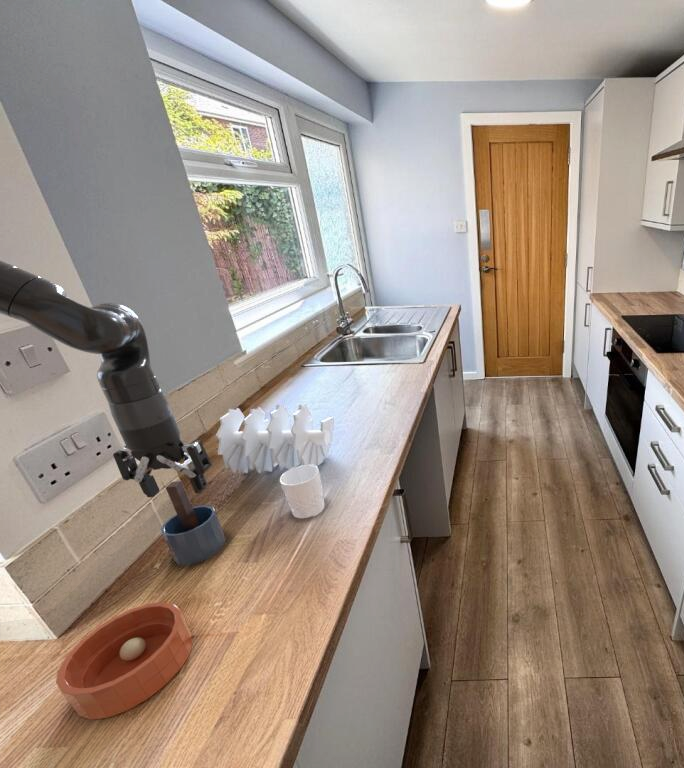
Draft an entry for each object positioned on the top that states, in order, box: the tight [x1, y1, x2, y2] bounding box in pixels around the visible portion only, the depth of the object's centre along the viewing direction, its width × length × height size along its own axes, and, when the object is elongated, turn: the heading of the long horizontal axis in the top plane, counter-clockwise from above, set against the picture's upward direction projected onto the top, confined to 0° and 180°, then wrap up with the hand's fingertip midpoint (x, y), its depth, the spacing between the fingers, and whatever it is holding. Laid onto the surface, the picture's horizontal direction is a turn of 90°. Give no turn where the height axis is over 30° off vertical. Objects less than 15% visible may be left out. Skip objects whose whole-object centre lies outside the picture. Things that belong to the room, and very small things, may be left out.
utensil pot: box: [160, 505, 227, 566], centre depth 82 cm, size 9×9×8 cm
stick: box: [165, 480, 200, 532], centre depth 80 cm, size 2×2×16 cm
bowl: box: [55, 601, 194, 720], centre depth 60 cm, size 14×14×6 cm
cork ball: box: [119, 637, 146, 661], centre depth 62 cm, size 3×3×3 cm
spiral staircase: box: [214, 404, 335, 474], centre depth 108 cm, size 18×18×25 cm
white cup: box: [279, 464, 325, 519], centre depth 92 cm, size 8×8×10 cm
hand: (177, 492), depth 78 cm, fingers open, 8 cm apart
